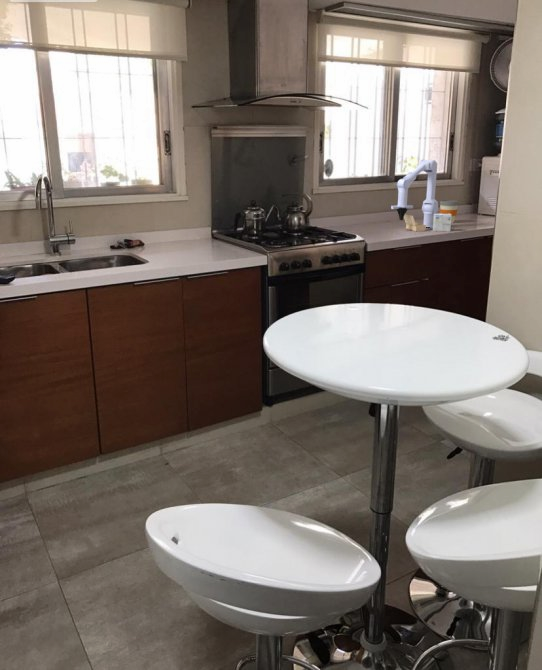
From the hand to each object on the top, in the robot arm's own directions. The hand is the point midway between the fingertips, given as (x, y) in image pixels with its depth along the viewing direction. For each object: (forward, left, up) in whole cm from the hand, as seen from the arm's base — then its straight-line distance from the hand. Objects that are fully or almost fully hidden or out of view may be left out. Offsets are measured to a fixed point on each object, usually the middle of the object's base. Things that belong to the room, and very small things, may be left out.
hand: (401, 220), depth 383 cm
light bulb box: (-9, +25, -7) cm, 28 cm away
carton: (-6, +9, -7) cm, 13 cm away
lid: (-4, +5, 0) cm, 6 cm away
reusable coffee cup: (-52, +27, -7) cm, 59 cm away
